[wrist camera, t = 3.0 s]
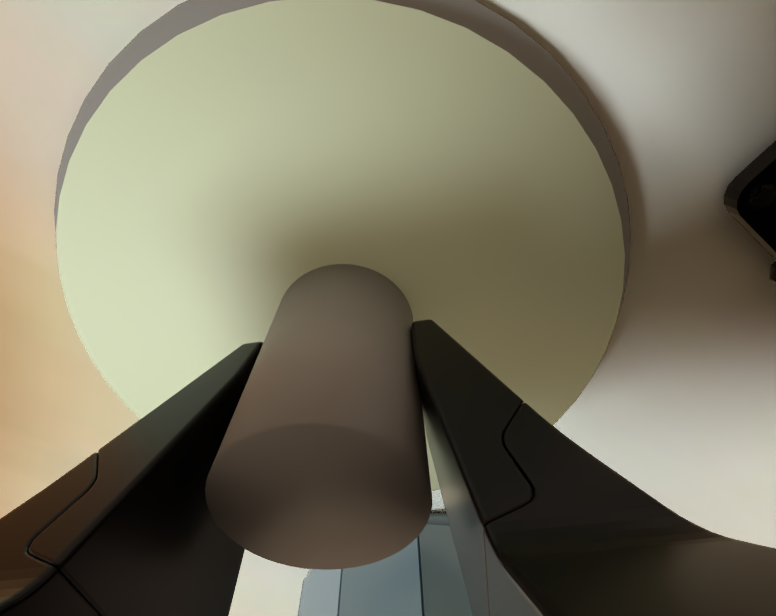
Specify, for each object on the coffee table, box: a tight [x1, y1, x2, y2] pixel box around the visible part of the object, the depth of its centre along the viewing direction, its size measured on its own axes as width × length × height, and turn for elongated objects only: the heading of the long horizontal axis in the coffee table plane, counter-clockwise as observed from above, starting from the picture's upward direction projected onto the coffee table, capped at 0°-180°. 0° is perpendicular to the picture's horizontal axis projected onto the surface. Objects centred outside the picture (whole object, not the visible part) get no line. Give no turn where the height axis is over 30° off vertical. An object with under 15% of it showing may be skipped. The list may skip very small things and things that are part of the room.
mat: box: [54, 0, 631, 310], centre depth 11 cm, size 13×13×1 cm
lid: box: [56, 0, 625, 570], centre depth 8 cm, size 12×12×5 cm
